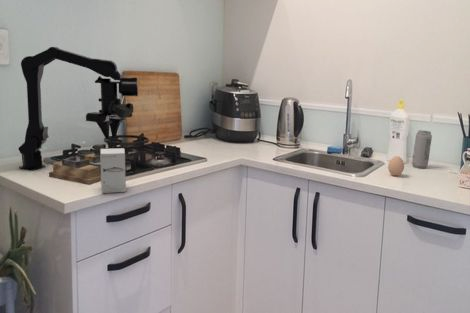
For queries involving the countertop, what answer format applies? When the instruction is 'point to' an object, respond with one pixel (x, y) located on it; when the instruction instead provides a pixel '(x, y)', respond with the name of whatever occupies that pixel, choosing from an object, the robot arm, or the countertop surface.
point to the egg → (396, 166)
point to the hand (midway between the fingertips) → (110, 138)
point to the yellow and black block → (96, 152)
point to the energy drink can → (421, 149)
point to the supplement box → (112, 170)
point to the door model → (78, 169)
